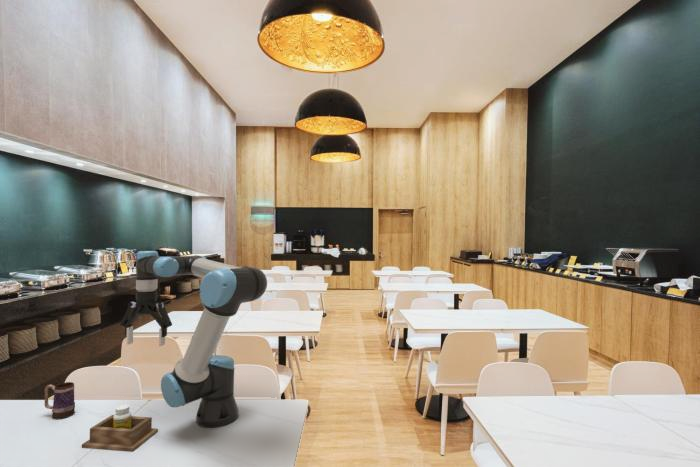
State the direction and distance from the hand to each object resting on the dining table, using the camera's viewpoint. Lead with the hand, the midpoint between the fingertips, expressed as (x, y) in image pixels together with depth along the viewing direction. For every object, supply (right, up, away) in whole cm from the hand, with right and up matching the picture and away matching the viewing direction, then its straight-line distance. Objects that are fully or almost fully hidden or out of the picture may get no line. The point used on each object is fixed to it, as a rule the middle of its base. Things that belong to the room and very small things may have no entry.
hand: (145, 344), depth 149 cm
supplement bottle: (+3, -25, -20) cm, 32 cm away
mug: (-32, -27, -3) cm, 41 cm away
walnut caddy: (+3, -26, -20) cm, 33 cm away
